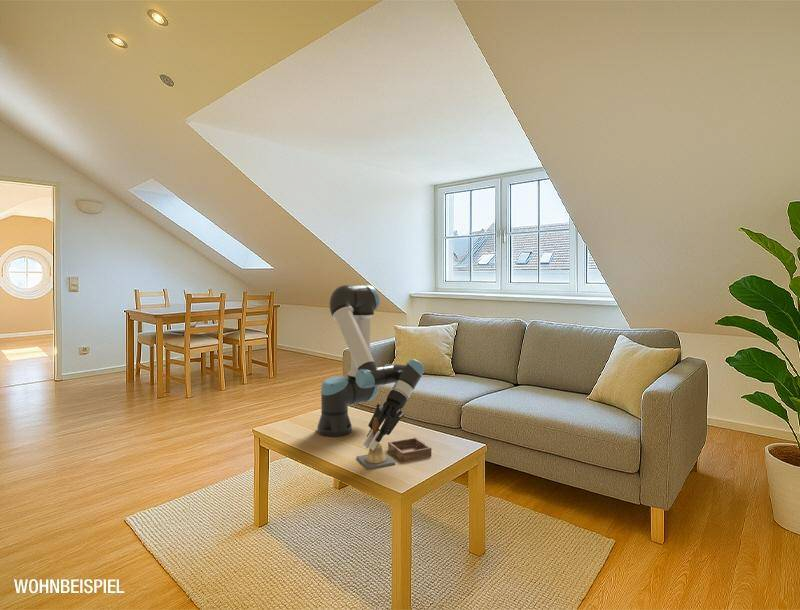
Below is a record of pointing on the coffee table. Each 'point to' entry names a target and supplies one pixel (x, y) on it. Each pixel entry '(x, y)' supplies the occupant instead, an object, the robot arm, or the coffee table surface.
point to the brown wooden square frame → (404, 456)
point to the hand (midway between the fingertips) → (368, 447)
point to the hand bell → (376, 448)
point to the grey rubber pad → (372, 465)
